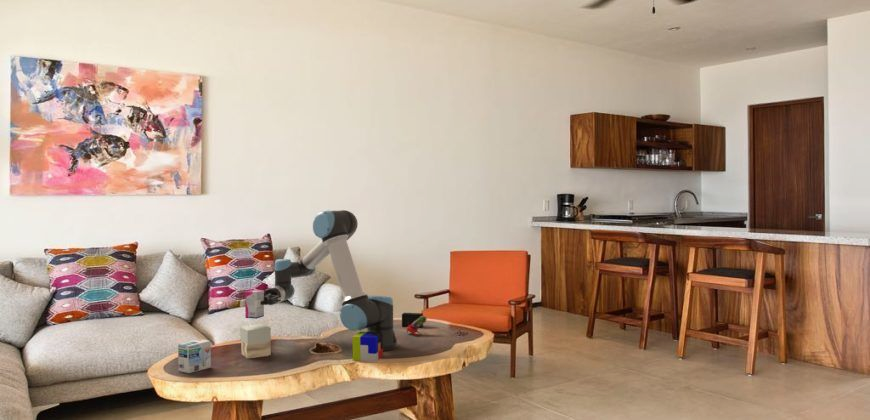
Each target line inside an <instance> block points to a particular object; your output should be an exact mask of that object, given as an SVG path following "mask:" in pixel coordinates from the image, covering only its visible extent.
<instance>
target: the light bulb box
mask: <svg viewBox="0 0 870 420" xmlns="http://www.w3.org/2000/svg"><path fill="white" fill-rule="evenodd" d="M177 345H178V346H177V348H178V350H177V351H178V352H177V353H178V359H177V360H178V362H177V363H178V372H180V373H181V372H182V373H186V374H192V373H195V372H199V371H203V370H207V369H210V368H211V365H212V364H211V362H212V360H211V358H212V356H211V355H212V351H211V348H212V347H211V346H212V344H211V341H210V340H208V339H202V338H200V339H195V340H189V341H186V342H182V343H178V344H177Z"/></svg>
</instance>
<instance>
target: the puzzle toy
mask: <svg viewBox="0 0 870 420" xmlns="http://www.w3.org/2000/svg"><path fill="white" fill-rule="evenodd" d="M351 339H352V341H351V342H352V361H353V360H356V361H357V362H372V363H373V362H376V363H377V361H379V360H380V359H381V358H382V357H383V356H384V351H383V332H367V331H359V332H357V333H356V334H354V335H353V336H352V338H351ZM356 361H355V362H356Z"/></svg>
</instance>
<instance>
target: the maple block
mask: <svg viewBox="0 0 870 420" xmlns="http://www.w3.org/2000/svg"><path fill="white" fill-rule="evenodd" d="M271 342H272V341H271ZM271 342H264V343H257V344H250V345H247V344H245V343H244V342H242V341H240V343H241V344H240V345H241V350H240V351H241V352H240V353H241V355H242V356H243V357H245V358H246V359H254V358H262V357H270V356H271V355H272V354H271V353H272V352H271V350H272V349H271V347H272V346H271ZM269 355H270V356H269Z"/></svg>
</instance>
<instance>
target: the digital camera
mask: <svg viewBox="0 0 870 420" xmlns="http://www.w3.org/2000/svg"><path fill="white" fill-rule="evenodd" d="M420 316H424V313H419V312H403V313H402V314H401V327H402V328H406V327H409V326H410V325H411V324H412V323H413V322H414V321H416V320H417V319H418V318H419V317H420ZM408 325H409V326H408ZM423 327H424V323H423V324H422V325H421V326H420V327H419V328H418V329H422V328H423Z"/></svg>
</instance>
